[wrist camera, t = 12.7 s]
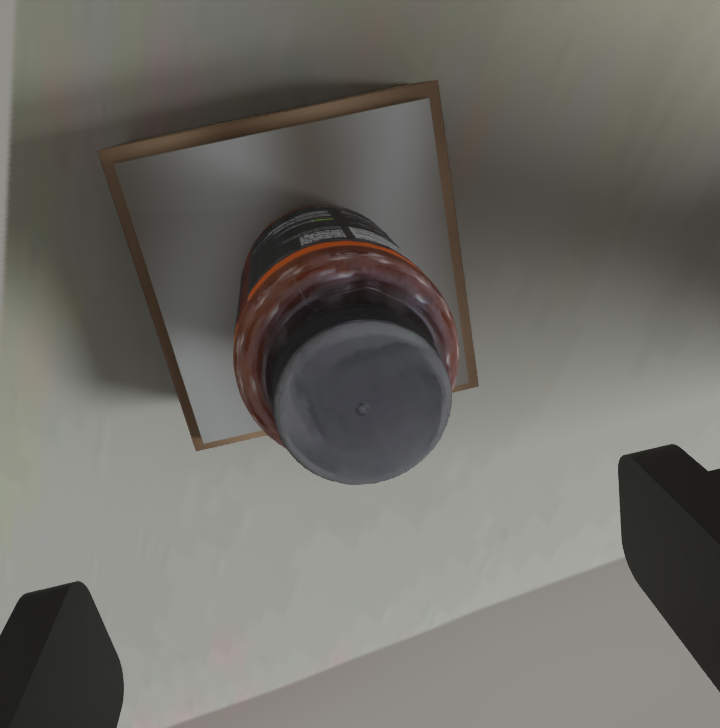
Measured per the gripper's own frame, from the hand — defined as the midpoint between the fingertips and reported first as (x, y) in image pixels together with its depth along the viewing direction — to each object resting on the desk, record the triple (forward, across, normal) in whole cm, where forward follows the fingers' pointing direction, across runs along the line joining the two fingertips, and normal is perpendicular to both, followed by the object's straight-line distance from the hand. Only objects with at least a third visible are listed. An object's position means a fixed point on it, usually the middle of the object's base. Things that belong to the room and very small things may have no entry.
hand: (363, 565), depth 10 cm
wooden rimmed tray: (+22, 0, 0) cm, 22 cm away
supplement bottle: (+16, 0, 0) cm, 17 cm away
